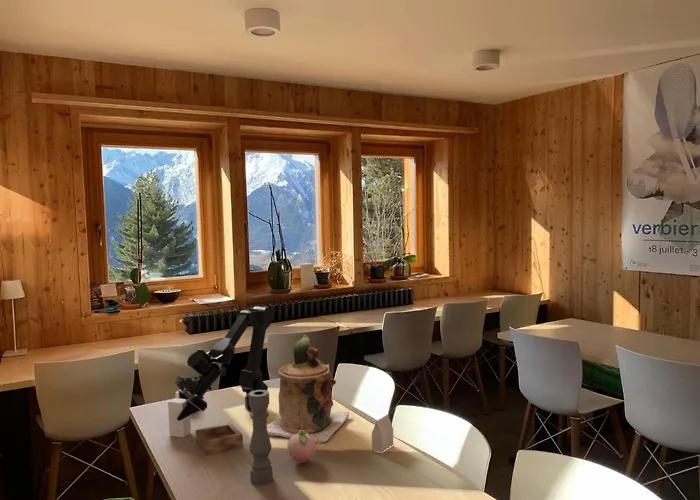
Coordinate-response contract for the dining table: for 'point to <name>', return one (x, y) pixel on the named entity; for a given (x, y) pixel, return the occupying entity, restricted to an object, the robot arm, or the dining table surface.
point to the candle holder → (260, 438)
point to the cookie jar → (306, 397)
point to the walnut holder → (219, 438)
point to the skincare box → (175, 426)
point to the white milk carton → (382, 434)
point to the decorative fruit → (301, 446)
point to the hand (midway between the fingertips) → (175, 416)
